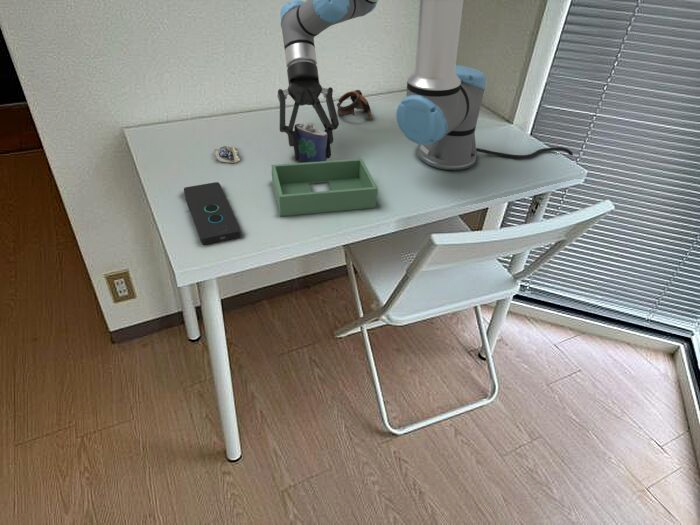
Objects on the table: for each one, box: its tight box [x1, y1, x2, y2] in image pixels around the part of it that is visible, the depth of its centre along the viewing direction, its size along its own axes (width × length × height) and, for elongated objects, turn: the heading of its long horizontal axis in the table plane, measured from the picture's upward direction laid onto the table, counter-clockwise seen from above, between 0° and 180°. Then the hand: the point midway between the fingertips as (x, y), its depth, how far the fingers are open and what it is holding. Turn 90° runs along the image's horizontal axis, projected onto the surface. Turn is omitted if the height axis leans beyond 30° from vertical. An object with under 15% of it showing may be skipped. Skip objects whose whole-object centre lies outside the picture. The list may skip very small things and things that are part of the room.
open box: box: [271, 158, 379, 217], centre depth 116 cm, size 22×14×5 cm, turn 104°
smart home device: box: [183, 181, 242, 246], centre depth 109 cm, size 8×2×20 cm
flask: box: [293, 121, 328, 163], centre depth 126 cm, size 9×3×11 cm, turn 60°
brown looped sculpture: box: [336, 89, 372, 121], centre depth 151 cm, size 12×10×8 cm
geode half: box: [213, 145, 241, 164], centre depth 129 cm, size 7×8×2 cm
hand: (313, 157), depth 125 cm, fingers closed on flask, 7 cm apart
